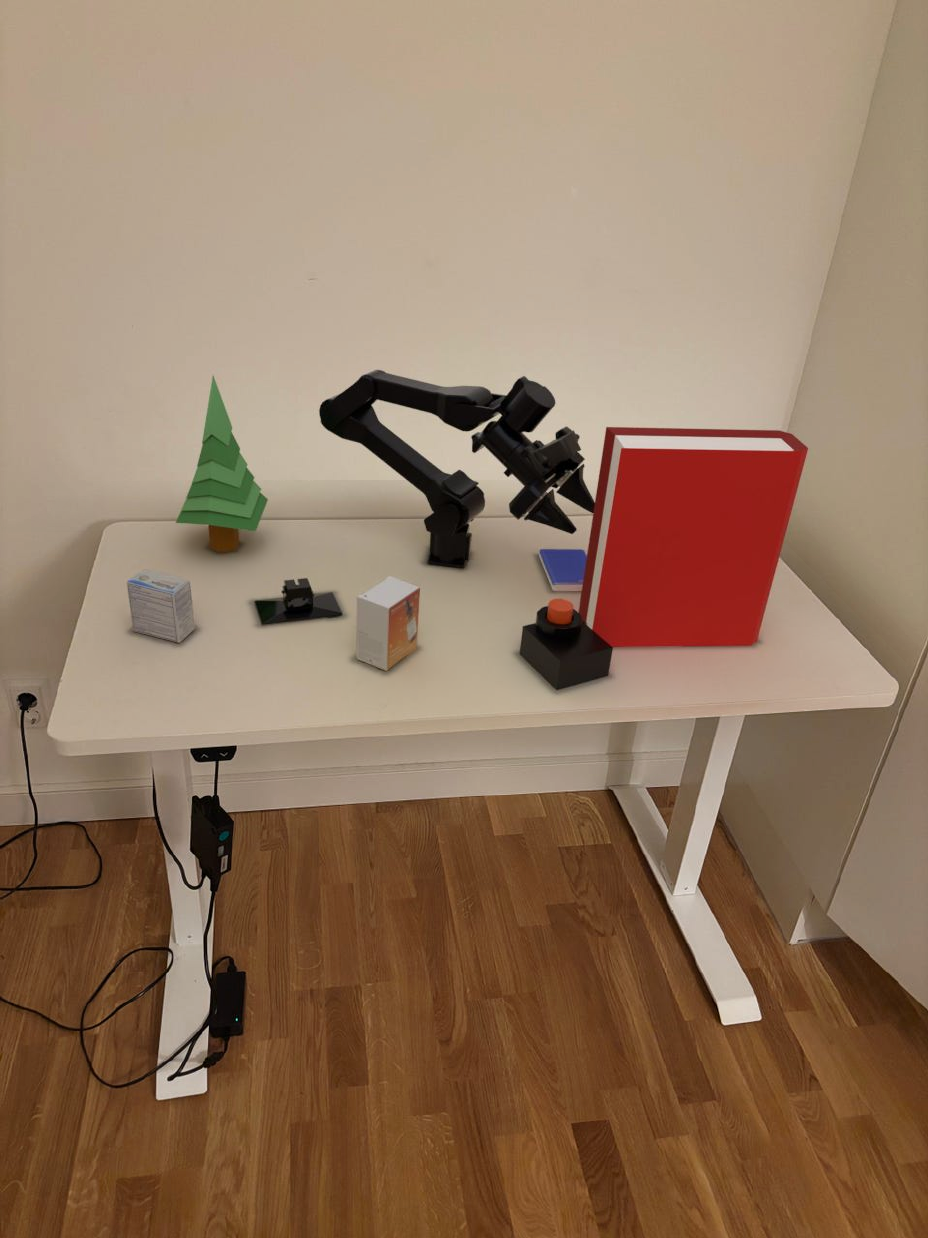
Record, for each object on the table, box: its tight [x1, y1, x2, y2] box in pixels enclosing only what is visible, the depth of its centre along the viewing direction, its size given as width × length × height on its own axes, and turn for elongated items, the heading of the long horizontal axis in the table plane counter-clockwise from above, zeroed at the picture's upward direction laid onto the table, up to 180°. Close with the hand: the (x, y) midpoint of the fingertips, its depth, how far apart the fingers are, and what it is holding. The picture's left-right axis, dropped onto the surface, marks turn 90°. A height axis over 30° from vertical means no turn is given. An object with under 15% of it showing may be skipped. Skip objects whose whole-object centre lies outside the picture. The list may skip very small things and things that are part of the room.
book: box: [577, 426, 809, 648], centre depth 143 cm, size 27×8×32 cm, turn 97°
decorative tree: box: [175, 375, 269, 554], centre depth 158 cm, size 14×16×30 cm
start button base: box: [519, 605, 614, 691], centre depth 140 cm, size 11×9×7 cm
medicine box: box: [126, 568, 196, 644], centre depth 140 cm, size 8×4×9 cm, turn 71°
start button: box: [547, 598, 575, 624], centre depth 139 cm, size 4×4×2 cm
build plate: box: [253, 577, 343, 626], centre depth 149 cm, size 12×7×5 cm, turn 109°
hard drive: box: [538, 548, 587, 592], centre depth 166 cm, size 2×8×12 cm
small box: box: [355, 575, 421, 672], centre depth 138 cm, size 8×6×10 cm
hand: (585, 521), depth 152 cm, fingers open, 9 cm apart
